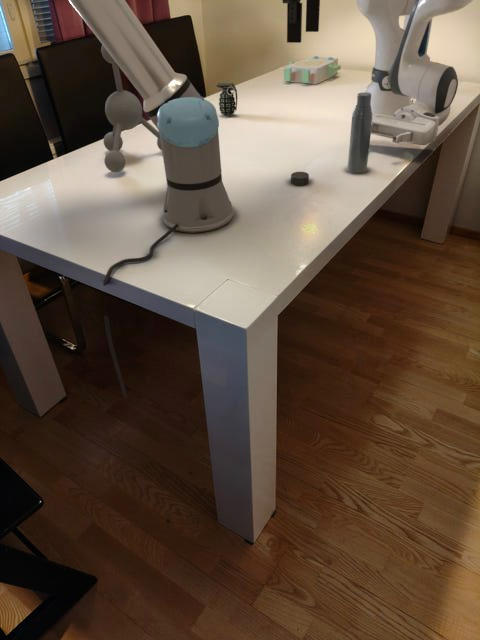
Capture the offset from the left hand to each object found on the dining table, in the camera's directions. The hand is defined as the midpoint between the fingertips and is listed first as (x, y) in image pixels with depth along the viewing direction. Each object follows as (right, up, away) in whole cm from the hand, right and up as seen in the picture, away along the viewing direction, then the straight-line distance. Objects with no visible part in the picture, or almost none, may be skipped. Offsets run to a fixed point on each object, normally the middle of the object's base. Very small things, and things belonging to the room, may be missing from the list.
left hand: (303, 36), depth 101 cm
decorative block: (+17, +44, +107) cm, 117 cm away
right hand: (+23, -11, +25) cm, 35 cm away
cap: (+1, -23, +18) cm, 30 cm away
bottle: (+17, -20, +24) cm, 35 cm away
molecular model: (-42, -12, +39) cm, 58 cm away
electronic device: (+49, +27, +81) cm, 99 cm away
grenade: (-17, +12, +68) cm, 72 cm away
